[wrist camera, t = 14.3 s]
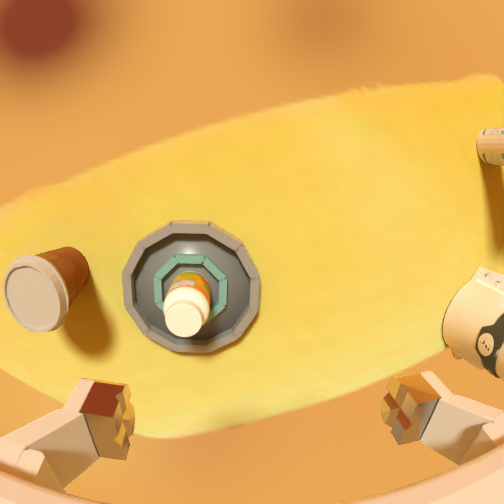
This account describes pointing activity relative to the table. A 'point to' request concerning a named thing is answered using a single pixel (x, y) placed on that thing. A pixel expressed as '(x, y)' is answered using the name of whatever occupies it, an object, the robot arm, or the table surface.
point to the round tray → (199, 260)
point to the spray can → (491, 146)
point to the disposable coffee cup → (44, 287)
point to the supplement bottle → (187, 303)
